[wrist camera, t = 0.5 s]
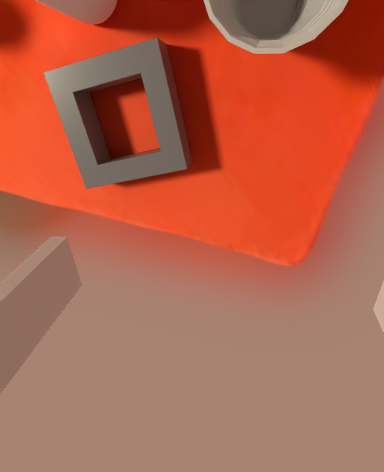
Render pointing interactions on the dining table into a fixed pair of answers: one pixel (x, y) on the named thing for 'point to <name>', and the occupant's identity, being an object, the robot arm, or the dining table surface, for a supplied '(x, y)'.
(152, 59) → the square frame
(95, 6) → the beverage can
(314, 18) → the plastic cup
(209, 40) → the dining table surface
